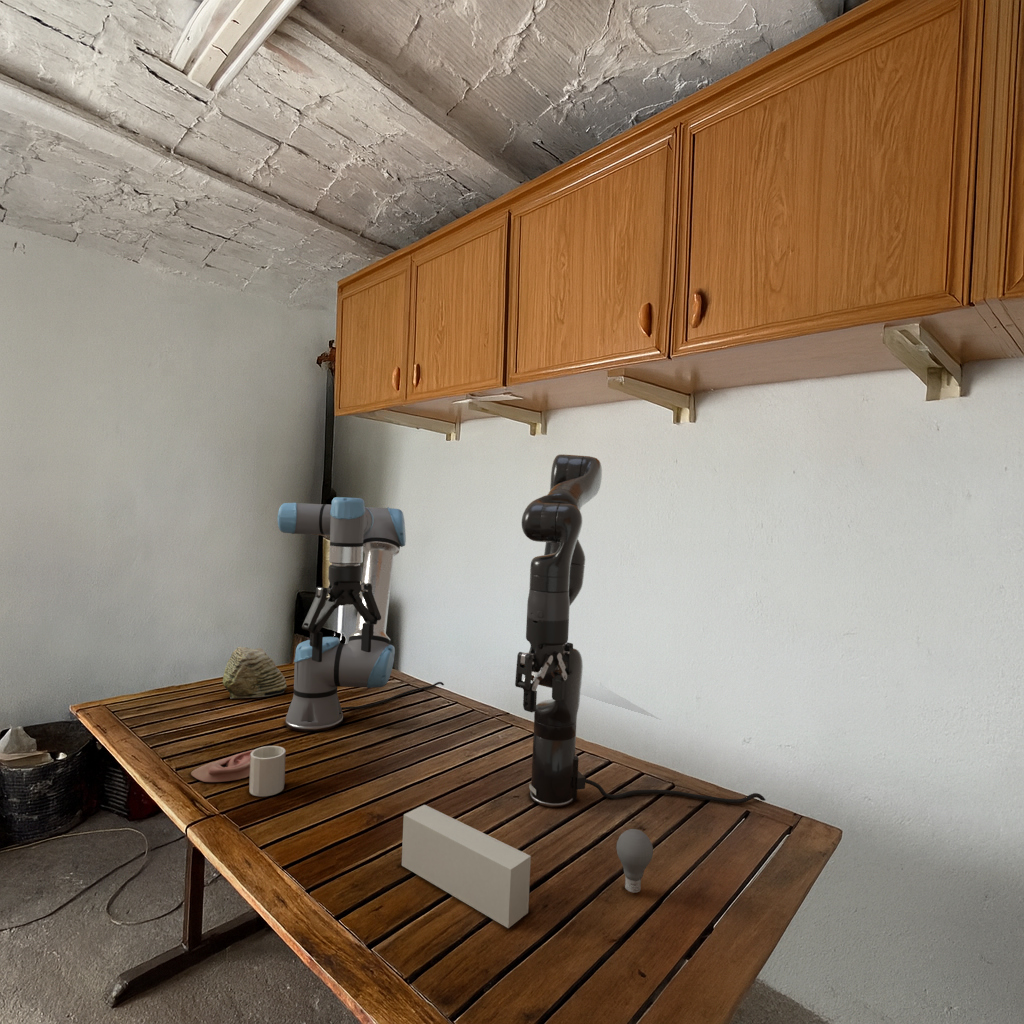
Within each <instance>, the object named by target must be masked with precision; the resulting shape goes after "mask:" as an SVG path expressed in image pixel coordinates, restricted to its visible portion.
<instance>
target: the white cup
mask: <svg viewBox="0 0 1024 1024" xmlns="http://www.w3.org/2000/svg"><path fill="white" fill-rule="evenodd" d="M252 750H253V751H252V752H251V753H250V776H248V777H249V780H248V781H249V782H248V788H249V789H248V791H249V794H250V795H252V796H255V797H270V796H274V795H275V796H276V795H277V794H279V793H281V792H282V791H284V789H285V784H286V783H285V781H286V758H287V757H286V756H287V755H286V752H287V751H286V748H284V747H283V746H279V745H265V746H261V747H257V748H255V749H252Z"/></svg>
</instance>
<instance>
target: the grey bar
mask: <svg viewBox="0 0 1024 1024" xmlns="http://www.w3.org/2000/svg"><path fill="white" fill-rule="evenodd" d="M401 842H402V847H401V866H402V867H403V868H405V869H406V870H408V871H410V872H412V873H413V874H414V875H417V876H418V877H420V878H422V879H424V880H425V881H427V882H429V883H430V884H432V885H434V886H435V887H437V888H439V889H440V890H442V891H443V892H446V893H447V894H449V895H451V896H452V897H454V898H456V899H457V900H459V901H461V902H463V903H464V904H466V905H467V906H470V907H471V908H472V909H474V910H476V911H477V912H479V913H481V914H482V915H485V916H486V917H488V918H490V919H491V920H492V921H495V922H496V923H498V924H500V925H502V926H503V927H504V928H506V929H510V928H511V927H512V926H514V925H515V924H516V923H518V922H519V921H520V920H521V919H522V918H524V917H525V916H526V915H527V914H529V908H530V907H529V905H530V884H531V883H530V882H531V862H532V856H531V855H530V854H528V853H525V852H524V851H522V850H520V849H517V848H515V847H514V846H511V845H509V844H507V843H506V842H503V841H501V840H499V839H496V838H494V837H493V836H490V835H488V834H487V833H484V832H482V831H480V830H478V829H476V828H475V827H473V826H470V825H468V824H466V823H464V822H461V821H460V820H458V819H456V818H453V817H451V816H449V815H447V814H445V813H443V812H441V811H439V810H437V809H435V808H433V807H431V806H428V805H426V804H423V805H421V806H418V807H416V808H414V809H412V810H410V811H408V812H406V813H404V814H403V821H402V841H401Z"/></svg>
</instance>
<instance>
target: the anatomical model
mask: <svg viewBox="0 0 1024 1024" xmlns="http://www.w3.org/2000/svg"><path fill="white" fill-rule="evenodd" d="M253 750H254V749H251V750H247V751H243V752H240V753H236V754H234V755H231V756H228V757H225V758H222V759H219V760H216V761H211V762H209V763H206V764H204V765H201V766H198V767H197V768H195V769H193V770H192V771H191V773H190V775H191V776H192V777H193V778H194V779H196V780H198V781H201V782H203V783H221V782H230V781H231V782H233V781H237V780H241V779H246V778H248V777H250V753H251V752H252V751H253Z"/></svg>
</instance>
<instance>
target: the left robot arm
mask: <svg viewBox="0 0 1024 1024" xmlns="http://www.w3.org/2000/svg"><path fill="white" fill-rule="evenodd" d="M277 526H278V529H279V531H280V532H281V533H283V534H291V535H311V536H313V535H314V536H322V537H323V538H324V539H327V540H329V550H328V551H329V553H328V555H329V557H328V561H329V563H330V564H329V566H328V575H327V576H328V577H327V578H328V582H329V584H328V587H323V586H317V587H316V589H315V595H314V598H313V601H312V603H311V605H310V608H309V610H308V612H307V614H306V616H305V618H304V621H303V623H302V625H301V629H302V630H305V631H308V632H309V639H307V640H304V641H302V642H300V643H298V644H297V645H296V648H295V655H294V660H293V662H294V672H293V673H294V674H293V695H292V696H293V697H292V699H291V702H290V704H289V706H288V711H287V713H286V715H285V726H286V728H287V729H289V730H291V731H294V732H295V731H296V732H301V733H316V732H325V731H329V730H332V729H335V728H337V727H339V726H340V725H342V723H343V722H344V714H343V711H344V710H359V709H366V708H370V707H374V706H378V705H381V704H384V703H387V702H390V701H392V700H394V699H397V698H400V697H402V696H405V695H407V694H410V693H415V692H419V691H423V690H427V689H431V688H434V687H436V686H438V685H441V686H445V684H444V682H443V681H438V682H435V683H434V684H432V685H431V684H430V685H427V686H423V687H418V688H413V689H409V690H406V691H403V692H401V693H398V694H396V695H392V696H391V697H388V698H386V699H383V700H380V701H376V702H372V703H369V704H364V705H357V706H355V705H354V706H341V702H340V699H339V695H338V687H339V688H367V689H372V688H374V689H375V688H383V687H385V686H386V685H387V684H388V682H389V680H390V677H391V675H392V671H393V668H394V662H395V653H396V648H395V645H393V644H391V638H390V637H389V636H388V635H387V625H388V615H389V605H390V595H391V588H392V587H391V586H392V576H393V568H394V567H393V566H394V559H395V557H396V556H397V555H398V554H399V553H400V551H401V550H400V548H403V547H405V546H406V540H407V539H406V538H407V537H406V523H405V515H404V512H403V511H402V510H401V509H399V508H394V507H393V508H392V507H372V506H371V507H370V506H365V500H364V499H363V498H361V497H342V496H336V497H333V499H332V500H331V504H327V503H325V504H323V503H322V504H320V503H304V502H303V503H301V502H283V503H282V504H281V505H280V506H279V508H278V511H277ZM362 563H363V566H362V565H361V564H362ZM327 597H328V598H327ZM346 605H353V607H354V608H355V610H356V611H357V612H356V613H357V615H356V621H355V622H356V623H355V628H354V629H355V630H354V632H352V633H351V634H350V635H349V636H348V641H347V643H341V641H340V638H339V637H337V636H335V637H334V636H324V632H322V631H321V630H322V628H323V627H324V626H325V624H326V623H327V621H328V620H329V618H330V617H331V615H332V614H333V613H334V611H335V610H336V609H337V608H339V607H340V606H346Z"/></svg>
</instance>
